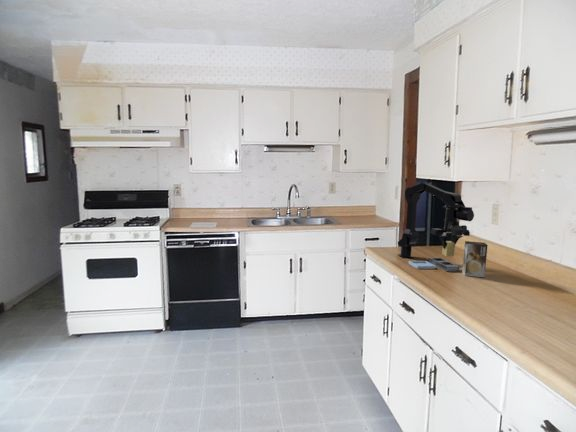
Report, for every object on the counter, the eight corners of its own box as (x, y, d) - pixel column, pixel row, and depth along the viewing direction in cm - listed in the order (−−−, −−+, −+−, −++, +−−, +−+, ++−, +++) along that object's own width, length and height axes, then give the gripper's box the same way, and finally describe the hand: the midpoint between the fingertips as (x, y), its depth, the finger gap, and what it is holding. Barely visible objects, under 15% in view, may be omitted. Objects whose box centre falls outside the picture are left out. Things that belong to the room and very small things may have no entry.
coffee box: (481, 274, 194) (485, 242, 191) (484, 277, 188) (488, 245, 185) (461, 272, 196) (464, 240, 194) (464, 275, 190) (467, 243, 187)
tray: (408, 263, 208) (408, 260, 208) (425, 263, 210) (426, 260, 210) (417, 268, 199) (417, 266, 198) (435, 268, 200) (435, 265, 200)
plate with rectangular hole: (428, 262, 213) (428, 257, 213) (440, 262, 215) (440, 257, 214) (446, 271, 196) (446, 266, 196) (459, 271, 197) (459, 266, 197)
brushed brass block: (441, 254, 203) (443, 241, 202) (449, 254, 204) (450, 241, 203) (446, 256, 199) (447, 242, 198) (453, 256, 199) (455, 242, 198)
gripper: (443, 220, 189) (439, 252, 191) (478, 221, 192) (474, 252, 194) (431, 217, 200) (428, 247, 202) (464, 217, 203) (461, 247, 205)
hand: (448, 248), depth 201 cm, fingers closed on brushed brass block, 4 cm apart
